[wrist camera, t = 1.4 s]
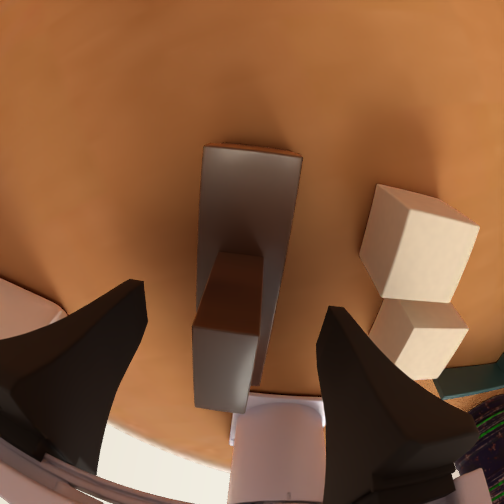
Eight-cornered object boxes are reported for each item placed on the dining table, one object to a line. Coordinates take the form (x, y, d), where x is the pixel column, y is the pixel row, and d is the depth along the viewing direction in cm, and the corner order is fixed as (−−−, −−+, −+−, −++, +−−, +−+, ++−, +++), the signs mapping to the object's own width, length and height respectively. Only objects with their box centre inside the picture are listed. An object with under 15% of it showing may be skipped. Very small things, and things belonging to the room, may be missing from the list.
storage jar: (508, 407, 24) (540, 485, 10) (453, 445, 27) (475, 526, 14) (505, 383, 21) (548, 481, 7) (437, 430, 24) (464, 533, 11)
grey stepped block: (261, 344, 18) (255, 457, 11) (207, 337, 18) (179, 446, 11) (295, 147, 13) (327, 187, 6) (219, 137, 13) (156, 167, 6)
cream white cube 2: (418, 263, 15) (449, 304, 11) (357, 255, 15) (380, 298, 11) (439, 198, 13) (480, 226, 10) (376, 183, 13) (410, 208, 10)
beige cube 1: (417, 337, 17) (437, 378, 14) (368, 335, 17) (383, 381, 14) (440, 289, 16) (469, 328, 12) (389, 283, 16) (414, 327, 12)
